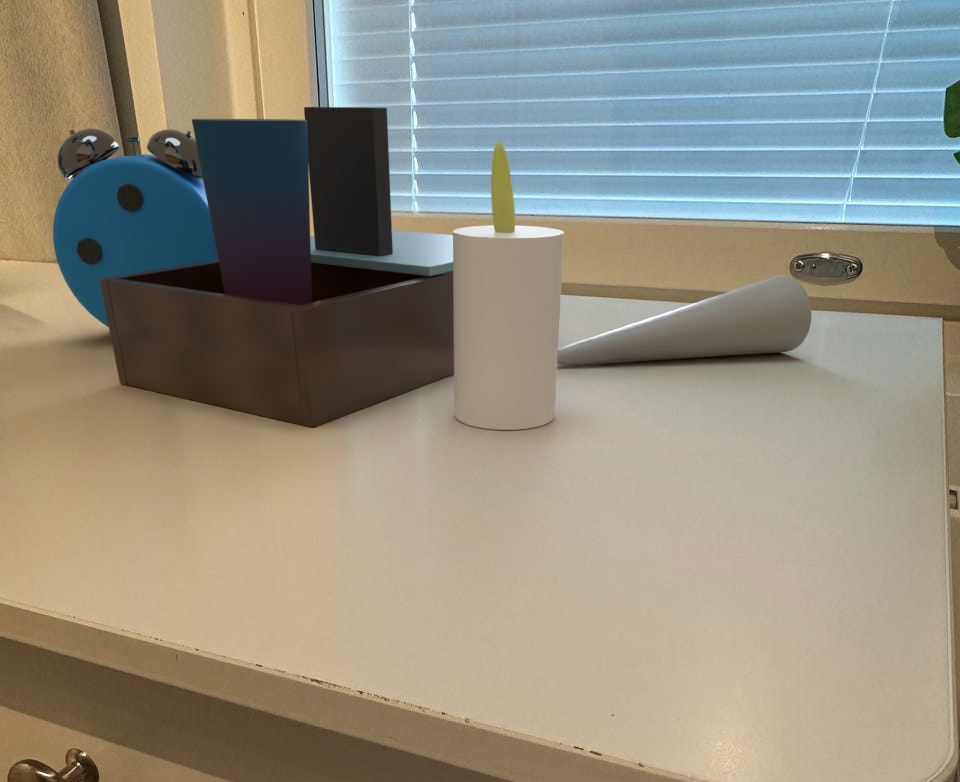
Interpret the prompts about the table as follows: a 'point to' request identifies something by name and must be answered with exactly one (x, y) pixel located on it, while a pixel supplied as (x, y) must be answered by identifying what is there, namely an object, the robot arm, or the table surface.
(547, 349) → the candle
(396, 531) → the table surface
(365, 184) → the upright panel on base
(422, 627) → the table surface
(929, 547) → the table surface
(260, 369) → the display box
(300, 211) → the cup
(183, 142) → the alarm clock
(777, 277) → the long tapered cone
